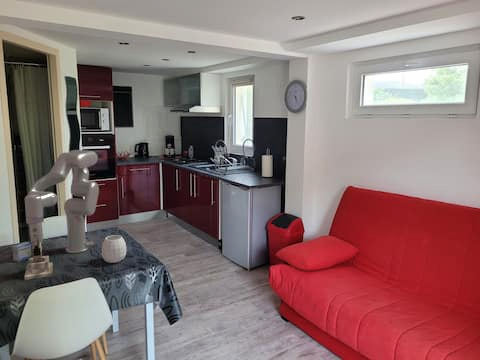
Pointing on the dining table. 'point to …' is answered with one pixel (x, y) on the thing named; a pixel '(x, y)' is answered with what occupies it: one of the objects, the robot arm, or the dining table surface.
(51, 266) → the socket stand
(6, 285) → the dining table surface
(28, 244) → the medicine box
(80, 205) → the robot arm
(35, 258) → the peg
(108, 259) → the white faceted vase
